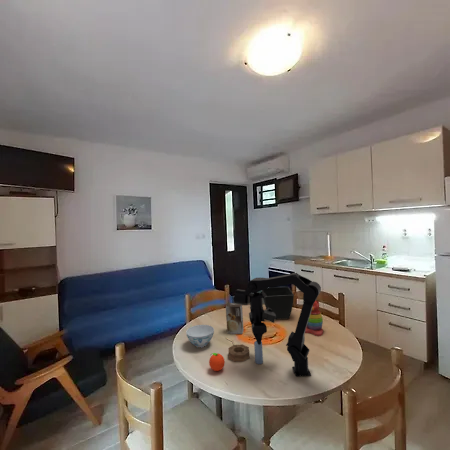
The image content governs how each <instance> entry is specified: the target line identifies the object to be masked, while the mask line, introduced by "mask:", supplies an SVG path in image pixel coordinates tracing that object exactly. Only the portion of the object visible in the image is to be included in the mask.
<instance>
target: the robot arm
mask: <svg viewBox="0 0 450 450" xmlns="http://www.w3.org/2000/svg"><path fill="white" fill-rule="evenodd" d="M287 285H293V286H295V288H297V289H298V291H300V292H301V293H302V294H303V297H302V299H303V300H302V301H303V302H302V307H301V311H300V314H299V317H298V321H297V323H296V326H295V327H296V328H295V331H291V332H290V333H289V336H288V339H287V343H286V344H285V346H286V350H287V352H288V353H289V355H290V357H291V360H292V362H293V366H292V367H291V368H292V371H293V374H294V375H295V377H311V376H312V373H311V371H310V369H309V357H308V356H309V352H310V351H311V350H310V348H308V346H307V345H306V344H305V339H306V338H305V334H306V333H305V330H306V327H307V324H308V320H309V317H310V314H311V311H312V307H313V304H314V302H315V301H317V299H318V298H319V295H320V293H321V292H322V287H321V285H320V283H318V282H317V281H313V280H311V279H310V278H307V277H304V276H302V275H300V274H299V273H298V272H292V273H289V274H284V275H278V276H273V277H272V276H271V277H254V278H252V279H251V280H249V281H248V283H247V287H246V289H240V288H238V289H236V290H235V293H234V295H233V296H234V297H233V302H234V303H235V304H241V305H242V306H248V305H250V306H249V310H250V312H249V313H248V318H249V322H250V325H251V332H252V334H253V336H254V338H255V341H257V343H258V345H260V344H261V342H262V339H263V336H264V334H266V333H267V332H268V329H267V328H268V327H267V325H266V323H265V321H267V322H271V323H273V324H274V323H275V322H276V321H275V320H276V319H275V318H276V315H275V313H274V312H272V309H271V308H268V309H267V310H266V309H264V306H263V305H264V300H263V298H265V297H266V296H267V295H266V294H265V293H264V292H263V291H262V290H264V289H266V288H274V287H282V286H287Z"/></svg>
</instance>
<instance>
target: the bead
mask: <svg viewBox="0 0 450 450" xmlns="http://www.w3.org/2000/svg"><path fill="white" fill-rule="evenodd" d="M227 351H228V359H229V360H231V361H233V362H237V363H238V362H245V361H247V360H249V359H250V356H251V355H250V354H251V353H250V348H249V346H247V345H244V344H235V345H233V344H232V345H231V346H229V347H228V350H227Z"/></svg>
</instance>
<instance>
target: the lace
mask: <svg viewBox="0 0 450 450" xmlns="http://www.w3.org/2000/svg"><path fill="white" fill-rule="evenodd" d="M225 339H226V340H228V341H230V342H232V346H233V345H236V344H235V341H234V340H232V339H231V338H228V337H225Z"/></svg>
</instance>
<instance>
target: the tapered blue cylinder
mask: <svg viewBox="0 0 450 450" xmlns="http://www.w3.org/2000/svg"><path fill="white" fill-rule="evenodd" d="M263 355H264V354H263V341H261V344H260V345H258V343H257V341H256V340H255V341H254V363H255V364H256V365H262V364H263V363H264V356H263Z"/></svg>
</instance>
